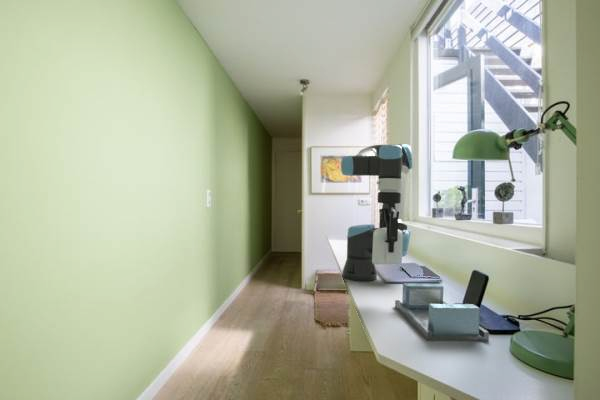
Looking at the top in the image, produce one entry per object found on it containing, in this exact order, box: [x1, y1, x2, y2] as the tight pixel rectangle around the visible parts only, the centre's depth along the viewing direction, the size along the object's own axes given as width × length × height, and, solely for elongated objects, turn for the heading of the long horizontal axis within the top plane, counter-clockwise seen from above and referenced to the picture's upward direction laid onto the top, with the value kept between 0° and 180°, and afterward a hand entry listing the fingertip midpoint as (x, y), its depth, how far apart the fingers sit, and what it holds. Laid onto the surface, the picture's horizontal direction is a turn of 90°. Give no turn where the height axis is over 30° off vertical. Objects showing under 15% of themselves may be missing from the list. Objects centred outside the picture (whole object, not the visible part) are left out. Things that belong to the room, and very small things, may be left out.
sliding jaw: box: [401, 282, 444, 308], centre depth 103 cm, size 3×12×7 cm, turn 93°
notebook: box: [417, 265, 441, 279], centre depth 154 cm, size 13×2×21 cm
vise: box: [394, 299, 490, 342], centre depth 93 cm, size 24×16×8 cm, turn 3°
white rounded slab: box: [372, 227, 403, 266], centre depth 108 cm, size 10×4×12 cm, turn 103°
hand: (387, 260), depth 108 cm, fingers closed on white rounded slab, 5 cm apart
